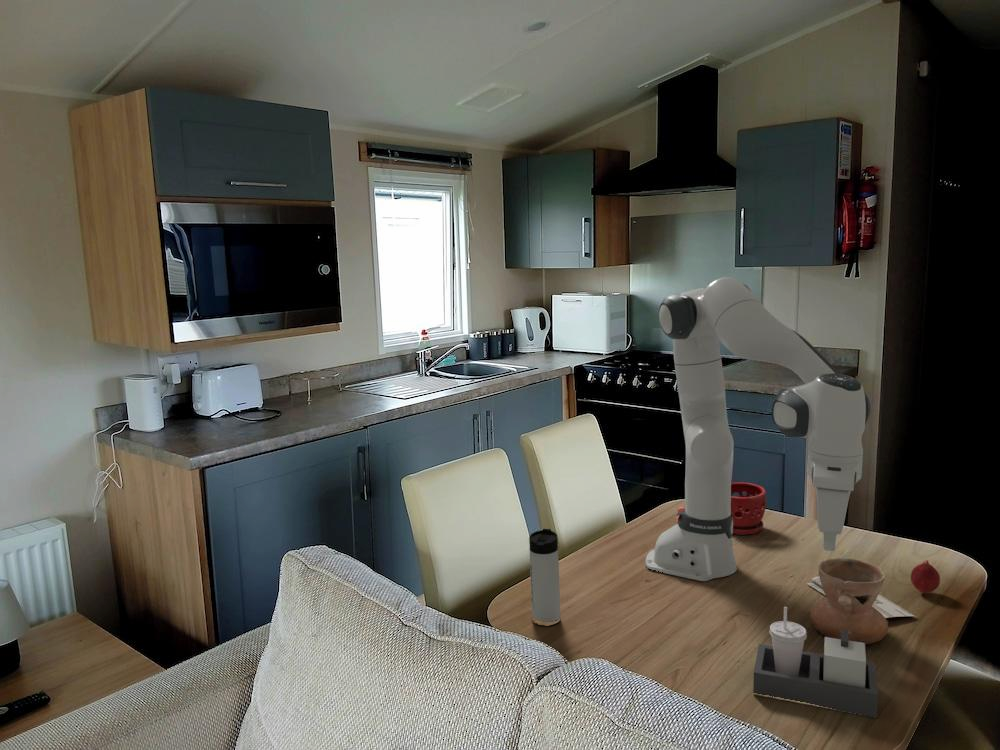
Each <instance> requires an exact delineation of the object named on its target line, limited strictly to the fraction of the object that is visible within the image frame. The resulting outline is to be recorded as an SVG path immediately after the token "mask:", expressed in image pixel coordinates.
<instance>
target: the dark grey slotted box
mask: <svg viewBox="0 0 1000 750" xmlns="http://www.w3.org/2000/svg"><path fill="white" fill-rule="evenodd" d="M823 645H824V647H823V648H824V649H823V651H824V652H823V653H817V652H811V651H807V650H805V651H804V650H803V651H802V657H801V663H800V669H799V675H798V676H793V675H787V674H781V673H776V669H775V661H774V652H773V645H769V644H763V643H758V647H757V652H756V656H755V657H756V658H755V662H754V668H753V693H757V694H762V695H769V696H772V697H773V696H774V697H780V698H784V699H790V700H795V701H800V702H806V703H810V704H815V705H819V706H823V707H828V708H832V709H836V710H840V711H845V712H849V713H848V714H851V713H856V714H861V715H864V716H863V717H866V716H869V717H868V718H872V717H873V719H878V705H879V704H878V703H879V702H878V701H879V699H878V698H879V691H878V680H877V670H876V669H877V668H876V662H872V661H867V656H866V644H865V643H861V642H855V641H848V630H842V629H841V639H835V638H829V637H826V636H824V644H823ZM840 711H839V712H840ZM845 712H844V713H845ZM850 712H851V713H850ZM856 714H855V715H856ZM861 715H860V716H861Z"/></svg>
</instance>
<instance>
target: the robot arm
mask: <svg viewBox="0 0 1000 750" xmlns="http://www.w3.org/2000/svg"><path fill="white" fill-rule="evenodd" d="M658 320H659V324H660V328H661V330H662V332H663V333H664V334H665V336H667V337H668V338H669V339H672V346H673V347H672V348H673V349H672V351H673V361H674V369H675V376H676V383H677V392H678V399H679V406H680V407H679V408H680V413H681V414H680V415H681V421H682V429H683V437H684V444H685V472H684V473H685V474H684V475H685V478H684V506H683V505H681V506H680V507H679V508H678V510H677V514H676V524H674V525H673V526H671V527H670V528H668V529H667V530H665V531H663V532H662V533H661V534H660V535H659V537H658V538H657V539H656V542H655V545H654V548H653V549H651V550H650V551H649V552H648V553H647V555H646V557H645V563H646V564H645V567H646V566H647V567H648V568H649V569H652V570H651V571H653V570H656V571H655V572H658V571H659V572H658V573H662V572H663V573H662V574H667V575H672V576H677V577H682V578H685V579H690V580H695V581H699V582H708V581H710V580H713V579H718V578H724V577H725V578H726V577H727V576H731V575H733V574H734V573H736V572H737V570H738V565H737V561H736V558H735V557H736V556H735V554H734V549H733V548H734V547H733V540H732V539H733V538H732V537H733V534H734V533H733V515H732V513H731V483H732V478H733V477H732V476H733V465H734V447H735V444H734V443H735V442H734V437H733V435H732V433H731V429H730V426H729V420H728V411H727V401H726V400H727V399H726V398H727V397H726V385H725V384H726V383H725V377H724V369H723V363H722V353H721V349H720V343H722V345H723V346H724V347H725V348H726V349H727V350H728V351H729V352H730V353H732V354H733V355H734V356H736V357H738V358H741V359H745V360H750V361H759V362H765V363H771V364H775V365H779V366H782V367H784V368H787V369H788V370H791V371H793V372H794V373H795V374H796V375H797V376H798V377H799V378H800V379H801V380H802V382H804V384H799V385H794V386H789V387H786V388H782V389H781V390H779V391H778V392H777V394H776V395H775V397H774V398H773V402H772V405H771V417H772V418H771V419H772V422H773V424H774V426H775V428H776V429H777V430H778V431H779V432H780V433H781V434H783V435H784V436H785V437H790V438H797V439H798V438H805V439H807V440H808V442H809V444H808V445H809V446H808V454H807V456H808V457H807V474H808V476H809V477H810V479H811V482H812V486H813V487H814V488H815V497H816V517H817V528H818V531H819V532H820V533H823V550H824V551H828V552H834V551H835V550H836V540H837V536H838V535H841V534H842V532H843V529H844V526H845V525H844V524H845V522H846V521H845V520H846V515H847V510H848V504H849V499H850V494H851V492H853V491H854V489H855V487H856V484H857V483H858V482H859V481H860V480H861V479H862V474H863V473H862V472H863V461H864V460H863V457H864V448H863V443H862V438H863V434H864V432H865V429H866V424H867V423H868V421H869V420H870V415H871V411H872V405H871V401H870V399H869V398H870V397H869V396H868V394H867V392H866V391H865V389H864V386H863V384H862V383H861V382H860V380H858V379H856V378H855V377H852V376H850V375H847V374H842V373H841V372H840V371H838V370H837V368H836V367H834V365H832V363H831V362H829V360H828V359H826V357H825V356H824V355H822V354H821V352H819V350H818V349H816V347H815V346H813V345H812V344H811V343H810V341H809V340H807V339H806V338H805V337H803V336H802V335H801V334H800V333H798V332H796V331H795V330H794V329H791V328H790V327H788V326H787V325H785V324H784V323H782V322H781V321H780V320H779V319H778V318H776V317H775V316H774V315H773V314H772V313H771V312H770V311H769V310H768V309H766V307H765V306H764V305H763V303H762V302H761V301H760V300H759V298H757V296H756V295H755V294H754V293H753V292H752V290H751V289H750V288H749V286H747V285H746V284H744V283H743V282H741V281H740V280H738V279H736V278H734V277H728V276H724V277H720V278H717V279H715V280H713V281H712V282H710V283H709V284H708V285H705V286H702V287H700V288H694V289H691V290H688V291H684V292H681V293H679V292H676V293H674V294H671V295H669V296H666V297H665V298H663V300H662V301H661V303H660V305H659V308H658ZM719 341H720V343H719ZM647 567H646V568H647ZM648 568H647V569H648ZM649 569H648V570H649Z"/></svg>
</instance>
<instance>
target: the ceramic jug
mask: <svg viewBox="0 0 1000 750" xmlns="http://www.w3.org/2000/svg"><path fill="white" fill-rule="evenodd" d="M818 576H820V581H821V584H822V587H823V590H824V593H825V595H824V596H825V598H826V599H823V600H821V601H819V602H817V603H815V604H814V606H812V609H811V611H810V621H811V623H812V625H813V626H814V628H816V630H817V632H818V633H820V634H822V635H823V636H824V637H829V638H835V639H841V629H842V630H848V641H855V642H861V643H865V645H870V644H875V643H877V642H879V641H881V640H882V639H884V637H885V636H886V635H887V633H888V630H889V624H888V623H889V622H888V623H887V621H888V620H887V618H885V617H884V616H883V615H882V614H881V613H880V612H879V611H878V610H877V609H875V608H874V607H872V605H873V603H874V602H875V600H876V598H877V596H878V594H880V592H881V590H882V588H883V585H884V582H885V578H886V576H885V573H884V571H883V570H881V569H880V568H879V567H877V566H876V565H874V564H872V563H870V562H868V561H862V560H860V559H856V558H847V557H846V558H845V557H844V558H843V557H834V558H828V559H825V560H822V561H821V562H820V563H819V565H818ZM886 620H887V621H886Z"/></svg>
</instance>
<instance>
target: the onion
mask: <svg viewBox="0 0 1000 750" xmlns="http://www.w3.org/2000/svg"><path fill="white" fill-rule="evenodd" d="M910 581H911V583H912V585H913V586H914V588H915V589H916V590H917V591H919V592H920V593H921V594H924V595H927V594H929V593H932V592H934V591H936V589H938V588H939V586H940V583H941V577H940V574H939V572H938V570H937V569H936V568H935V567H934V566H933V565H932V564H930V563H929V560H927V559H923V561H922V563H919V564H917V565H916V566H914V568H913V569H912V571H911V573H910Z"/></svg>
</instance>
